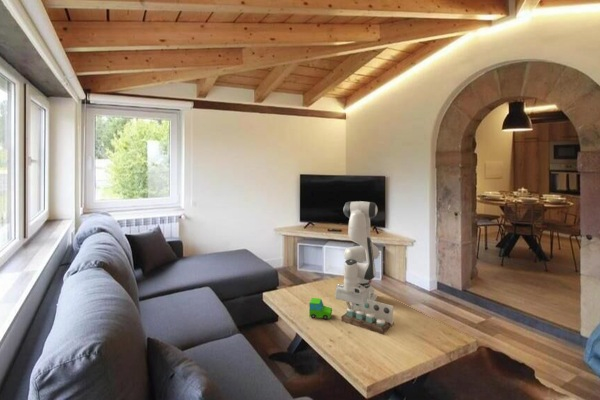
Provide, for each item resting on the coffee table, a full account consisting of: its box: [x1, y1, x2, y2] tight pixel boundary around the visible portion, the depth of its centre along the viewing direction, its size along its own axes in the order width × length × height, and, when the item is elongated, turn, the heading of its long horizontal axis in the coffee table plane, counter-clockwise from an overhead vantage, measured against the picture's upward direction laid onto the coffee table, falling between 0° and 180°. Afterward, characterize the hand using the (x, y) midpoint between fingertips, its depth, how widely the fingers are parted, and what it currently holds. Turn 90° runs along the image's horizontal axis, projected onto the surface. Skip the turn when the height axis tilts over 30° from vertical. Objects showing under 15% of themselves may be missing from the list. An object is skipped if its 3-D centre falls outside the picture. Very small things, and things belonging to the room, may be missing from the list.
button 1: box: [346, 307, 355, 317], centre depth 212 cm, size 5×5×4 cm
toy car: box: [308, 297, 333, 321], centre depth 216 cm, size 10×13×10 cm
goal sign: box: [351, 299, 395, 328], centre depth 213 cm, size 4×27×12 cm, turn 53°
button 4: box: [376, 318, 385, 327], centre depth 200 cm, size 5×5×4 cm
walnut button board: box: [340, 312, 391, 335], centre depth 206 cm, size 10×27×3 cm, turn 53°
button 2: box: [356, 309, 365, 320], centre depth 208 cm, size 5×5×4 cm
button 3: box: [366, 312, 375, 323], centre depth 204 cm, size 5×5×4 cm
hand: (350, 308), depth 211 cm, fingers closed
